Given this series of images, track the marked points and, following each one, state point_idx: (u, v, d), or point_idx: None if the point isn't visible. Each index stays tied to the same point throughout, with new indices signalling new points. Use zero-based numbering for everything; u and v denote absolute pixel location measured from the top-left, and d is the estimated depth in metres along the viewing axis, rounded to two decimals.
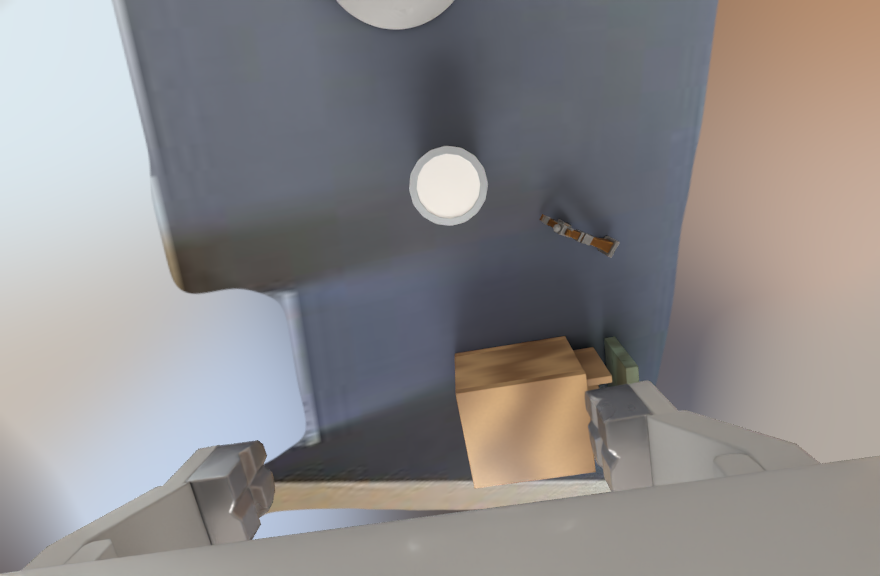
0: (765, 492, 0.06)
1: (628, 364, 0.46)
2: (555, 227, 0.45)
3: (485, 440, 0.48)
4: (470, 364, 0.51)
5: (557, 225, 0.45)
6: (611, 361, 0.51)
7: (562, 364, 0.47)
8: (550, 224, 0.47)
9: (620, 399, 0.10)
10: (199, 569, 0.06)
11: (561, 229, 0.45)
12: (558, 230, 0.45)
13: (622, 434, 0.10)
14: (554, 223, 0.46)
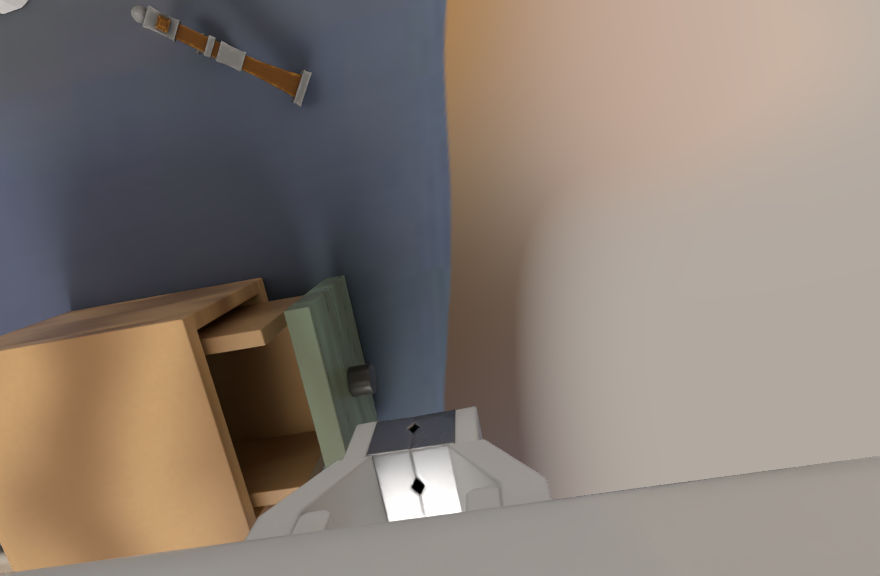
0: (765, 492, 0.06)
1: (295, 306, 0.21)
2: (131, 10, 0.21)
3: (8, 471, 0.22)
4: (52, 322, 0.26)
5: (136, 6, 0.21)
6: None
7: (178, 309, 0.23)
8: None
9: (437, 426, 0.10)
10: (199, 569, 0.06)
11: (146, 14, 0.21)
12: (139, 17, 0.21)
13: (427, 462, 0.10)
14: None
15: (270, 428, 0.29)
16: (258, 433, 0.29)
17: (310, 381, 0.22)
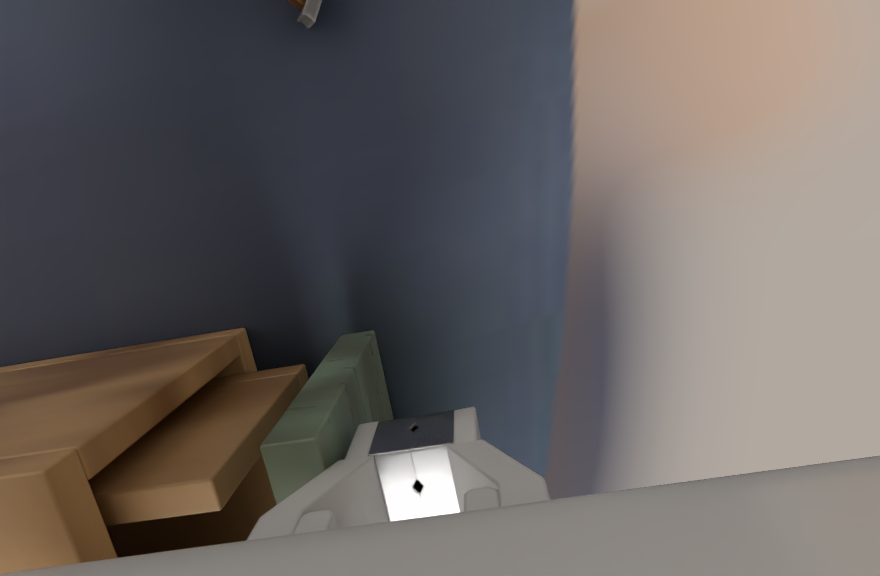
0: (765, 492, 0.06)
1: (287, 429, 0.10)
2: None
3: None
4: None
5: None
6: None
7: (65, 418, 0.11)
8: None
9: (436, 426, 0.10)
10: (199, 569, 0.06)
11: None
12: None
13: (426, 462, 0.10)
14: None
15: None
16: None
17: None
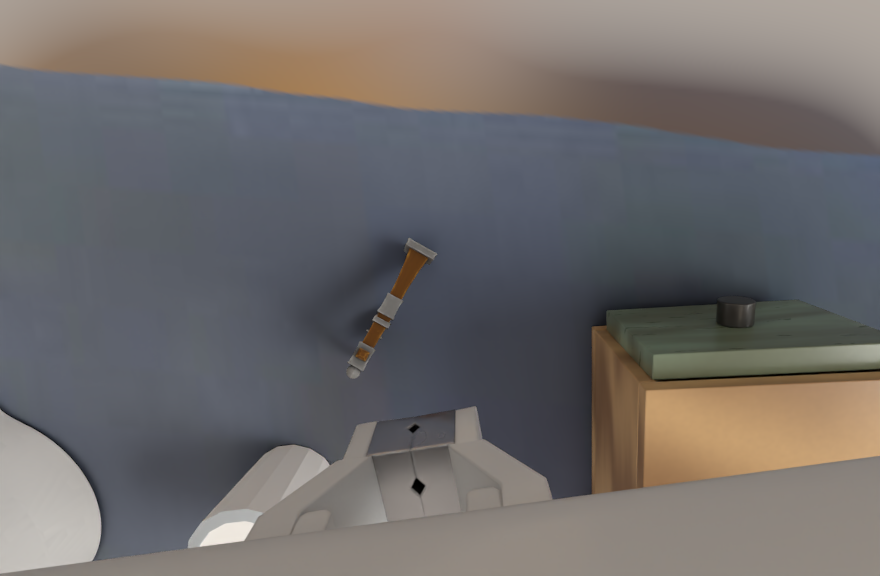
0: (765, 492, 0.06)
1: (647, 366, 0.21)
2: (350, 377, 0.25)
3: None
4: None
5: (347, 372, 0.25)
6: None
7: (625, 399, 0.22)
8: None
9: (437, 426, 0.10)
10: (199, 569, 0.06)
11: (354, 366, 0.25)
12: (356, 372, 0.25)
13: (427, 462, 0.10)
14: None
15: None
16: None
17: (736, 367, 0.20)
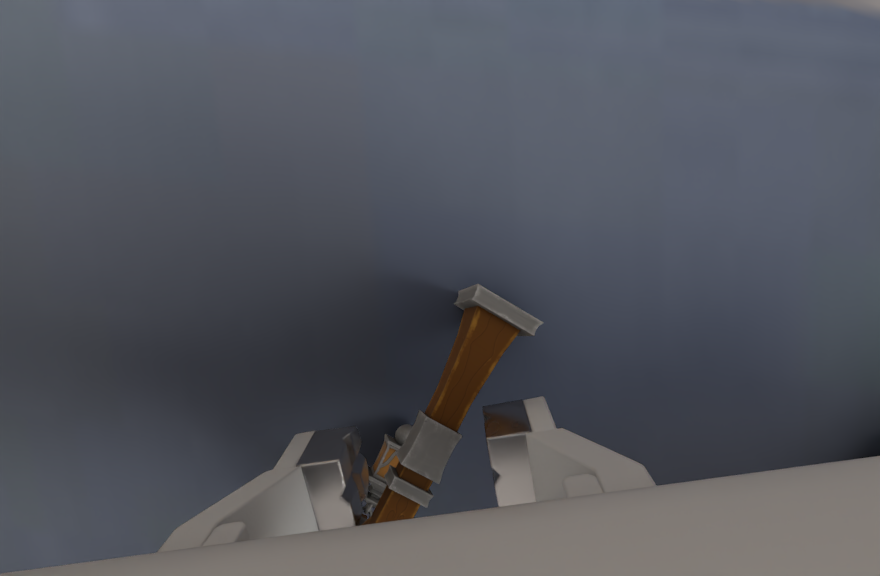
0: (765, 492, 0.06)
1: None
2: None
3: None
4: None
5: None
6: None
7: None
8: None
9: (509, 416, 0.10)
10: (199, 569, 0.06)
11: None
12: None
13: (503, 451, 0.10)
14: None
15: None
16: None
17: None
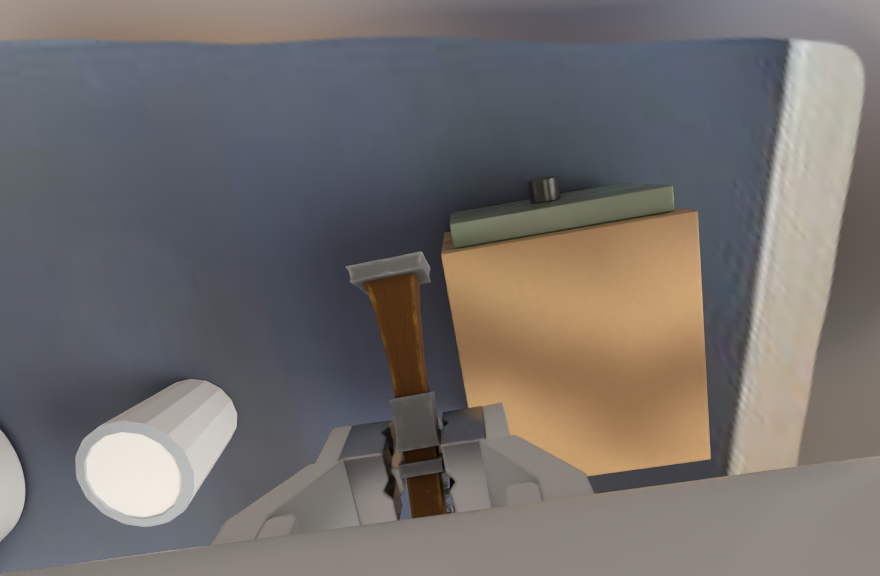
0: (765, 492, 0.06)
1: None
2: None
3: (591, 440, 0.24)
4: None
5: None
6: None
7: None
8: None
9: (466, 422, 0.10)
10: (199, 569, 0.06)
11: None
12: None
13: (458, 457, 0.10)
14: None
15: None
16: None
17: (525, 228, 0.22)
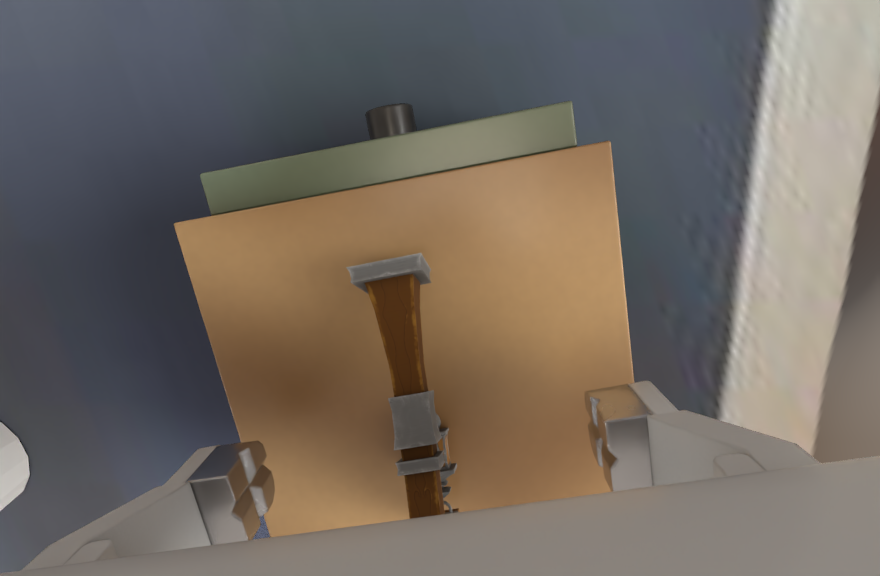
0: (765, 492, 0.06)
1: None
2: None
3: None
4: None
5: None
6: None
7: None
8: None
9: (620, 399, 0.10)
10: (199, 569, 0.06)
11: None
12: None
13: (622, 434, 0.10)
14: None
15: None
16: None
17: (325, 179, 0.13)
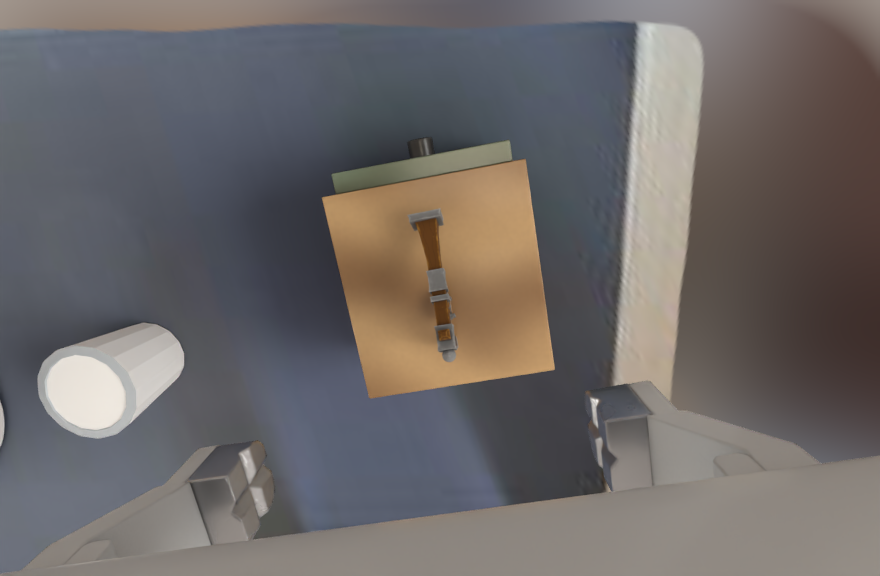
0: (765, 492, 0.06)
1: None
2: (449, 361, 0.24)
3: None
4: None
5: (445, 359, 0.24)
6: None
7: None
8: None
9: (620, 399, 0.10)
10: (199, 569, 0.06)
11: (445, 350, 0.24)
12: (451, 353, 0.24)
13: (622, 434, 0.10)
14: None
15: None
16: None
17: (392, 176, 0.27)
